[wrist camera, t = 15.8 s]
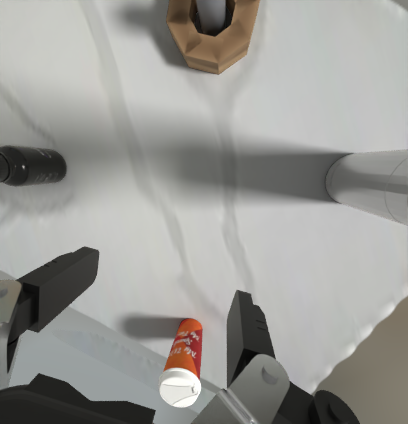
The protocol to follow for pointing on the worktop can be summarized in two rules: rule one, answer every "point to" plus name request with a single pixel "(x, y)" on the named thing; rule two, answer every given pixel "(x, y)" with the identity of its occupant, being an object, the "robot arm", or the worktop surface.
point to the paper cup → (183, 366)
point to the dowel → (211, 16)
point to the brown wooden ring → (208, 45)
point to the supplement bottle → (30, 166)
